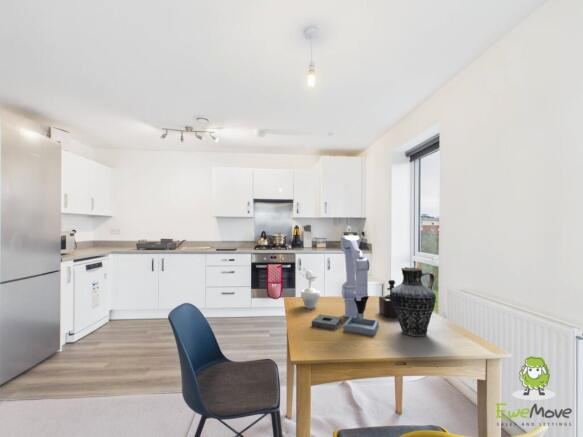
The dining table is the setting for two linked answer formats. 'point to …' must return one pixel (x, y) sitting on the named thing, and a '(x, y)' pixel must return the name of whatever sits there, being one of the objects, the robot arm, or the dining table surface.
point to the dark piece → (387, 304)
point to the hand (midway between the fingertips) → (361, 312)
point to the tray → (361, 326)
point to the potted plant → (310, 292)
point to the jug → (413, 301)
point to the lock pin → (359, 316)
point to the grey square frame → (327, 322)
